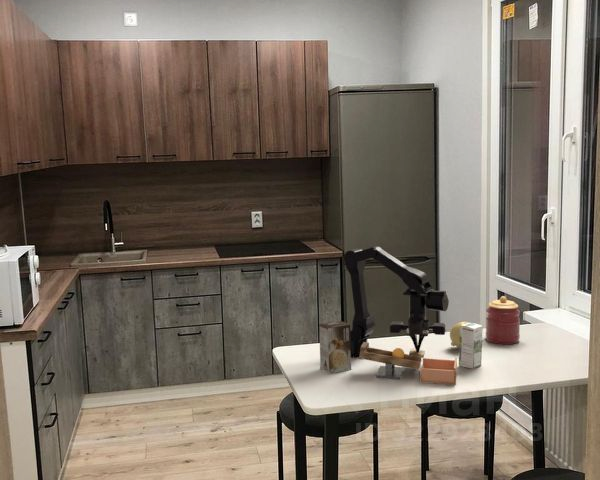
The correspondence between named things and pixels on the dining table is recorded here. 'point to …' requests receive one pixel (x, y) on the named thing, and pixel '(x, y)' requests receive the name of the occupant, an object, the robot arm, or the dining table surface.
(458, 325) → the yellow rounded lump
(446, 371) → the orange open box
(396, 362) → the lever
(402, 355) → the ball
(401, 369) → the lever stand
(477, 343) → the syrup box
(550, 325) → the dining table surface
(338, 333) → the coffee box
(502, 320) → the canister
